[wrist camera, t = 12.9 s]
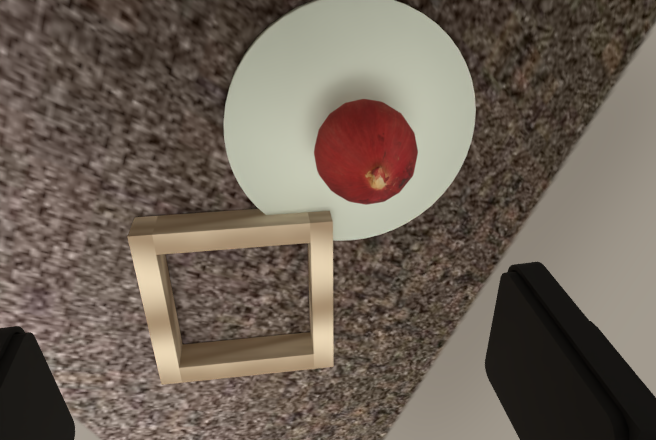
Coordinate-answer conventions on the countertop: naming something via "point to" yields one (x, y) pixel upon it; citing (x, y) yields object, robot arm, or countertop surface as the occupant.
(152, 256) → the frame
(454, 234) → the countertop surface
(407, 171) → the onion
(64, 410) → the robot arm
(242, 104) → the plate
